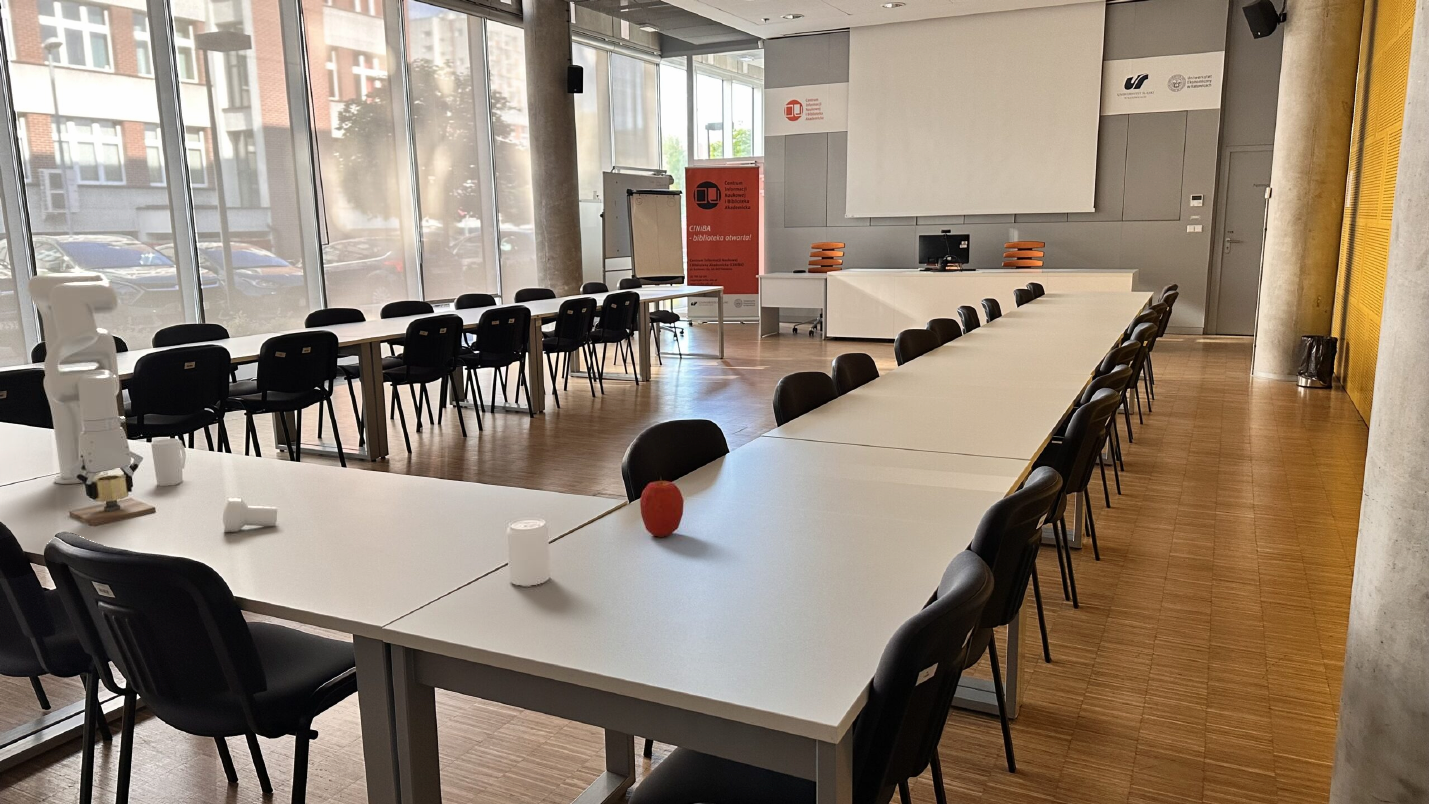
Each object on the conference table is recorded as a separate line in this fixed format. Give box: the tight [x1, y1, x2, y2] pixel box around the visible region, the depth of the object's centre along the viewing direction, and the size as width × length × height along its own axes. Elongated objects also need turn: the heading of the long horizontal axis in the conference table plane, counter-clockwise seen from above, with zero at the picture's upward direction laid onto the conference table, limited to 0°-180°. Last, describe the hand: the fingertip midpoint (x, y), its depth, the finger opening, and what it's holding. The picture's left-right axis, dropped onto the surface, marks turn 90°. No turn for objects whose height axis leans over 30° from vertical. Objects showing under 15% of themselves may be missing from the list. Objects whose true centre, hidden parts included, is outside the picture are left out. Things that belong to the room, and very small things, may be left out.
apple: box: [639, 476, 685, 538], centre depth 212 cm, size 10×10×14 cm
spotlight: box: [222, 496, 278, 533], centre depth 219 cm, size 8×11×8 cm
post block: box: [68, 497, 157, 527], centre depth 230 cm, size 14×14×8 cm
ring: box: [93, 473, 130, 503], centre depth 230 cm, size 7×7×5 cm
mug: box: [150, 438, 187, 487], centre depth 259 cm, size 10×7×12 cm, turn 169°
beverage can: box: [506, 517, 551, 587], centre depth 185 cm, size 8×8×12 cm
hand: (110, 494), depth 230 cm, fingers closed on ring, 7 cm apart
